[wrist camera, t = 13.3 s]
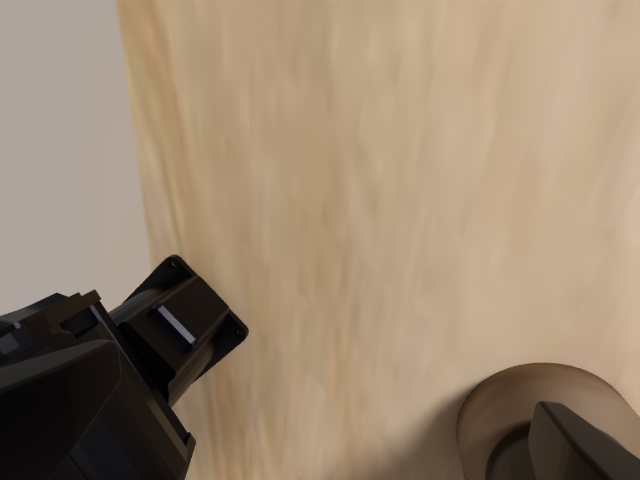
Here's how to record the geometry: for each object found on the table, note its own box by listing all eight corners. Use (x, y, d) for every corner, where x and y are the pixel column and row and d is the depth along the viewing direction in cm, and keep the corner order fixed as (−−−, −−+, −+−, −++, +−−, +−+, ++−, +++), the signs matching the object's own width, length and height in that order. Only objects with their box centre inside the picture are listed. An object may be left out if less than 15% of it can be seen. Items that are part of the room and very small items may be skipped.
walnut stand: (522, 523, 23) (536, 567, 21) (423, 417, 23) (426, 450, 20) (673, 454, 21) (708, 496, 18) (565, 331, 20) (587, 358, 18)
